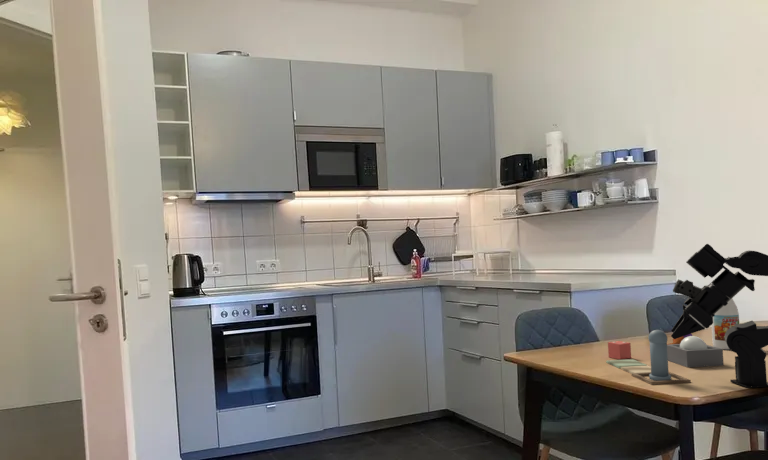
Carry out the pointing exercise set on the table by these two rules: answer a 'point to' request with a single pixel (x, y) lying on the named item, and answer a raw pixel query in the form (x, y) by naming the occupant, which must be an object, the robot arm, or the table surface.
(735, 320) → the milk bottle
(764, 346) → the robot arm
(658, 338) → the pawn
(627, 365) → the game track
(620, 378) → the table surface
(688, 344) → the dome
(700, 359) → the grey open box
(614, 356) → the red block
